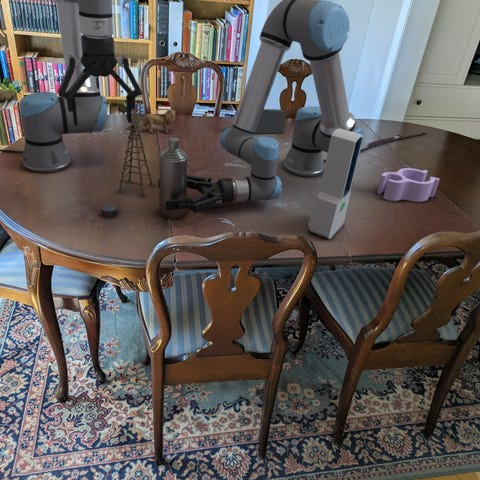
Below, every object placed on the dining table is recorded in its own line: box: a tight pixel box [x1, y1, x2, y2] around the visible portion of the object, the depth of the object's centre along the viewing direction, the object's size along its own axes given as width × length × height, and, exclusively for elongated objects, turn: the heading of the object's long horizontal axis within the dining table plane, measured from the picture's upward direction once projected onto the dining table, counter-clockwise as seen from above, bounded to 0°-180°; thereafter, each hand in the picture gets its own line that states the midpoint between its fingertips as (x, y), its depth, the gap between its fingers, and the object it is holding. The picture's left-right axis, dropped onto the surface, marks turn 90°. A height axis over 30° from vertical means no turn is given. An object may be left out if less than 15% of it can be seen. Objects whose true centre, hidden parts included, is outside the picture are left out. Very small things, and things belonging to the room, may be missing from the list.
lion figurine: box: [142, 109, 176, 134], centre depth 192 cm, size 15×5×9 cm, turn 110°
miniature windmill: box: [118, 95, 154, 197], centre depth 142 cm, size 9×8×30 cm
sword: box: [368, 134, 409, 147], centre depth 212 cm, size 31×3×1 cm, turn 126°
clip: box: [376, 167, 440, 203], centre depth 164 cm, size 20×12×7 cm, turn 109°
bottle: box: [159, 136, 189, 219], centre depth 134 cm, size 8×8×23 cm
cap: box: [101, 204, 117, 218], centre depth 135 cm, size 4×4×2 cm
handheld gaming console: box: [234, 108, 287, 134], centre depth 202 cm, size 23×3×10 cm, turn 108°
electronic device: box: [307, 128, 364, 240], centre depth 132 cm, size 12×8×30 cm, turn 148°
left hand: (103, 122), depth 122 cm, fingers open, 13 cm apart
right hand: (161, 194), depth 136 cm, fingers open, 13 cm apart
